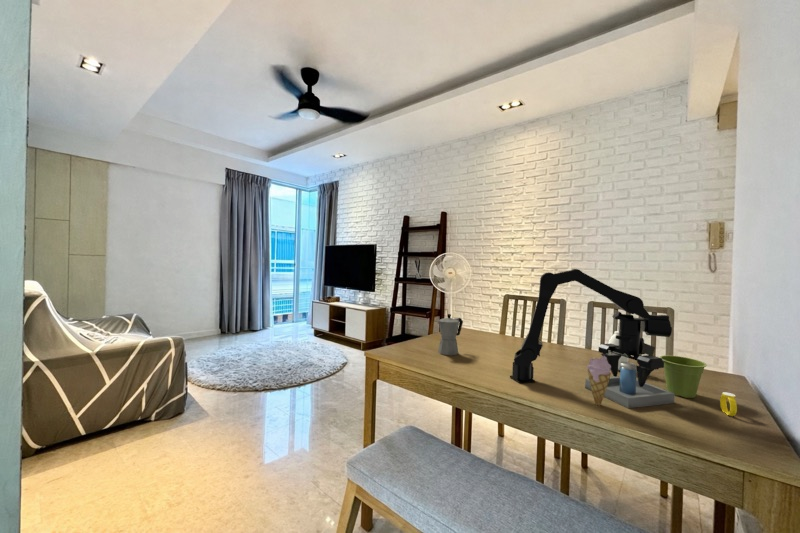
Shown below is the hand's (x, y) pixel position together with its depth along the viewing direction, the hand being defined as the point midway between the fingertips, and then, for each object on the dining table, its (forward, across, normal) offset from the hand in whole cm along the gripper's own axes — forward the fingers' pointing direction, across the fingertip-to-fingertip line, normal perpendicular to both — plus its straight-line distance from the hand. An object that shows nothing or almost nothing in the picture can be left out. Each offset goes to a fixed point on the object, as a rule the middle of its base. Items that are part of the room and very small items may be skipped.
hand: (627, 381), depth 108 cm
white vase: (+5, +22, -20) cm, 30 cm away
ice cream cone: (+5, -4, +16) cm, 17 cm away
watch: (+5, -17, -17) cm, 24 cm away
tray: (+4, 0, 0) cm, 4 cm away
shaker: (+4, 0, 0) cm, 4 cm away
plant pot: (+5, -3, -19) cm, 20 cm away
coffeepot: (+5, +57, +38) cm, 69 cm away
